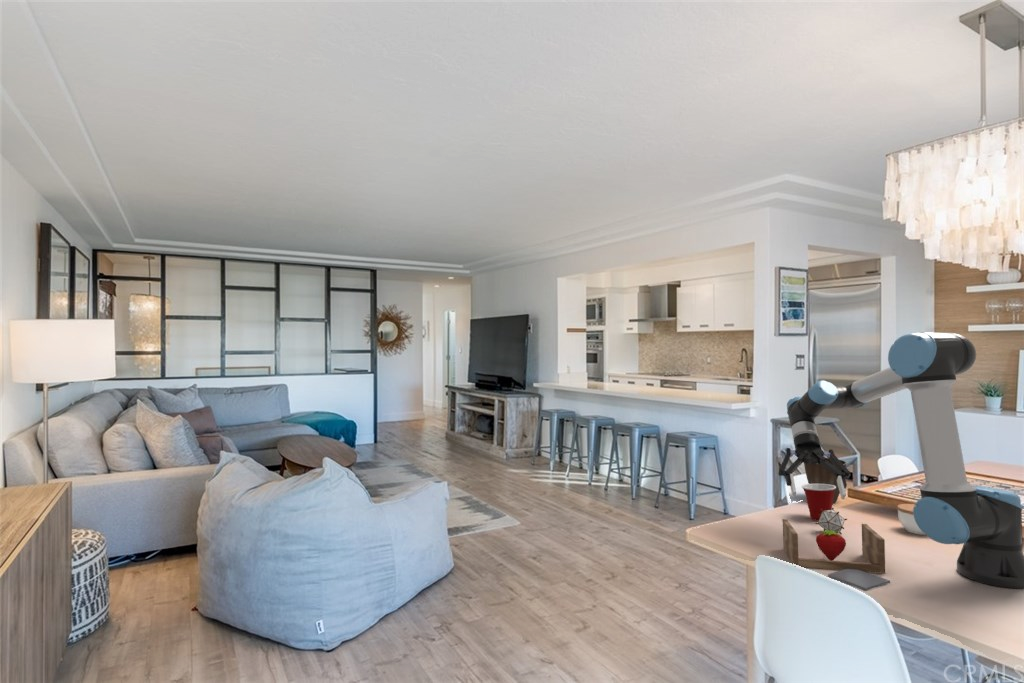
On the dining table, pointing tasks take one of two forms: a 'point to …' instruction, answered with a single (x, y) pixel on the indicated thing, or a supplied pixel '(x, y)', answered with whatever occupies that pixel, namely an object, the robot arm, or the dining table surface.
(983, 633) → the dining table surface
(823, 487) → the plastic cup
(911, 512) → the lidded jar
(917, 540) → the dining table surface
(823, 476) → the plant pot
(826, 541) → the strawberry
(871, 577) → the pad
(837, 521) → the game die
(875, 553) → the wooden crossbar stand
